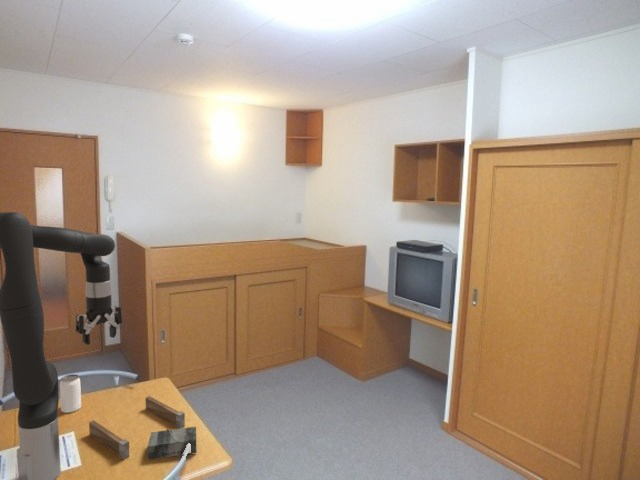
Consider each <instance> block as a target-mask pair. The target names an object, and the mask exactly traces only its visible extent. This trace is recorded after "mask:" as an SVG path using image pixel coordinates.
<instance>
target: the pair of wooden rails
mask: <svg viewBox="0 0 640 480" xmlns="http://www.w3.org/2000/svg"><path fill="white" fill-rule="evenodd" d="M145 410H147V411H148V412H151V413H152V414H154V415H156V416H157V417H159V418H161V419H162V420H165V422H166V421H167V422H168V423H170V424H172V425H173V426H175V427H176V429H182V428H185V425H186V424H185V423H186V422H185V421H186V420H185V418H186V417H185V416H186V415H185V412H184V411H182V410H180V411H178V410H176V409H175V408H173V407H170V406H169V405H167V404H166V403H163V402H162V401H159V400H158V399H156V398H154V397H152V396H150V395H148V396H146V397H145ZM88 423H89V424H88V425H89V427H88V428H89V430H88V431H89V436H91V437H92V438H93V439H95V440H96V441H97V442H99V443H100V444H102V445H103V446H104V447H106V448H107V449H109V450H110V451H112V452H113V453H114V454H115V455H118V456H119V458H120V459H121V460H122V461H124V460H125V459H128V458H130V441H129V440H128V439H126V438H125V439H122V438H121V437H120V436H118V435H117V434H115V433H114V432H112V431H111V430H110V429H108V428H106V427H105V426H103V425H102V424H101V423H98V422H97V421H95V420H91V421H89V422H88Z"/></svg>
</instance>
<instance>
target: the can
mask: <svg viewBox="0 0 640 480" xmlns="http://www.w3.org/2000/svg"><path fill="white" fill-rule="evenodd" d="M81 390H82V389H81V379H80V376H79V375H78V374H74V373H73V374H67V375H64V376H62V377H61V378H60V381H59V398H60V399H59V400H60V401H59V402H60V411H61V412H62V413H64V414H71V413H76V412H77V411H79V410H80V409H81V407H82V391H81Z"/></svg>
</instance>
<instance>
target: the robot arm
mask: <svg viewBox="0 0 640 480" xmlns="http://www.w3.org/2000/svg"><path fill="white" fill-rule="evenodd" d="M115 247H116V243H115V240H114V239H113V237H111V236H109V235H107V234H103V233H92V232H85V231H82V230H81V231H80V230H78V229H72V228H66V227H58V226H43V225H33V224H31V223H30V221H29V219H28V217H26V216H25V215H24V214H22V213H19V212H14V211H12V212H11V211H8V212H5V211H4V212H0V249H1V252H2V254H3V261H4V265H5V271H4V277H3V280H2V283H1V286H0V322H1V326H2V331H3V335H4V337H5V338H4V339H5V343H6V347H7V349H8V353H9V357H10V364H11V374H12V390H13V394H14V396H15V398H16V399H17V400H18V401H19V404H18V405H19V406H18V411H17V412H18V414H17V426H18V443H19V448H17V449H16V460H17V474H18V476H17V477H18V480H55V479H57V478H58V477H59V476H60V473H61V471H62V470H61V454H60V453H61V452H60V451H61V450H60V434H59V433H60V431H59V430H60V429H59V427H60V426H59V402H60V401H59V400H60V399H59V398H60V395H59V375H58V370H57V368H56V366H55V365H54V364H53V363H52V362H50V361H48V360H46V356H45V349H44V339H45V318H44V317H45V316H44V310H43V309H44V308H43V302H42V299H41V294H40V290H39V284H38V277H37V273H36V272H37V271H36V266H35V265H36V264H35V254H34V253H35V252H34V248H36V249H43V250H47V251H55V252H63V253H72V254H80V256H81V259H82V263H83V265H84V267H85V293H84V294H85V309H86V313H84V314H79V313H78V314H76V317H75V332H76V333H78V334H80V335H82V343H83V344H84V345H86V346H88V345H91V340H90V339H91V338H90V337H91V336H90V332H91V331H92V329H94V328H95V326H97V325H100V324H105V323H106V322H107V324H108V325H110V326H109V337H110V338H114V339H115V337H116V336H117V326H118V325H120V324H122V323H123V319H122V318H123V317H122V308H121V307H119V306H118V305H115V306H114V307H112V302H113V300H112V284H111V267H110V265H109V263H108V262H105V261H103V260H102V259H101V257H106V256H109V255H111V254H112V253H113V252H114V250H115V249H116V248H115ZM112 313H113V314H114V319H113V318H112V317H111V315H112ZM86 319H87V320H86ZM85 321H86V322H85ZM84 322H85V323H84Z"/></svg>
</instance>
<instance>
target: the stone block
mask: <svg viewBox="0 0 640 480" xmlns="http://www.w3.org/2000/svg"><path fill="white" fill-rule="evenodd" d="M188 443H190V444H191V453H196V454H197V451H198V449H197V426H192V427H191V426H190V427H183V428H181V429H179V428H176V429H166V430H159V431H152V432H150V436H149V440H148V444H147V460H148V461H150V460H157V459H165V458H170V457H182V456H181V455H182V454H183V452H184V450H185V448H186V445H187V444H188Z"/></svg>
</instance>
